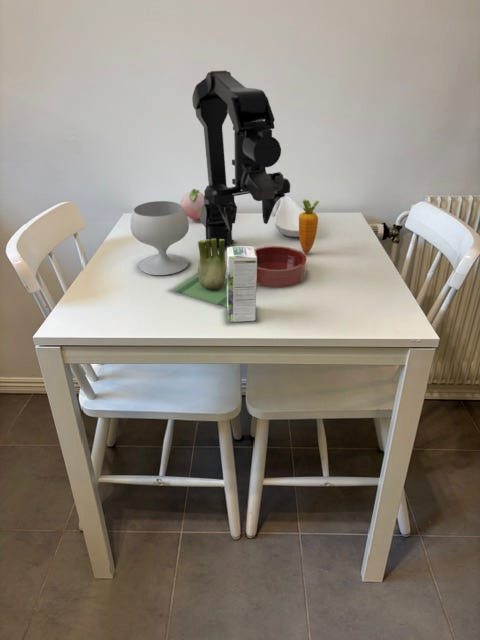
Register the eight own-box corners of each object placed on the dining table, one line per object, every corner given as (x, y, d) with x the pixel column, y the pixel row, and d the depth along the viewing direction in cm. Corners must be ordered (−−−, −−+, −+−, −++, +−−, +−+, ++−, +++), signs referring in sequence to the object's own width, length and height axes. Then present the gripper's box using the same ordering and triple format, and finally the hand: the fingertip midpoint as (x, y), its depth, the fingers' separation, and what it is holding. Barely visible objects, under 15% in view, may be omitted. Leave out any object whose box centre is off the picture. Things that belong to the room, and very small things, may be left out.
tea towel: (173, 290, 111) (173, 289, 111) (200, 272, 119) (200, 271, 119) (227, 307, 104) (227, 306, 104) (253, 287, 112) (253, 286, 112)
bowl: (234, 278, 116) (233, 262, 114) (263, 256, 127) (264, 241, 125) (288, 293, 110) (289, 276, 107) (314, 269, 120) (316, 253, 118)
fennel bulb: (227, 284, 113) (226, 236, 107) (221, 294, 109) (219, 244, 103) (204, 281, 114) (201, 233, 108) (197, 291, 110) (194, 242, 104)
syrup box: (226, 308, 104) (225, 246, 96) (253, 307, 104) (254, 245, 97) (228, 322, 99) (226, 257, 91) (256, 321, 99) (257, 256, 92)
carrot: (317, 251, 129) (321, 196, 122) (313, 259, 125) (317, 202, 118) (298, 249, 131) (302, 195, 123) (294, 256, 127) (297, 200, 119)
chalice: (151, 252, 130) (145, 197, 122) (199, 258, 126) (196, 202, 119) (125, 274, 119) (117, 215, 111) (177, 281, 115) (172, 221, 107)
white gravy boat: (319, 240, 136) (321, 215, 133) (279, 243, 135) (280, 218, 131) (296, 212, 156) (298, 190, 153) (261, 215, 155) (261, 193, 151)
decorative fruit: (181, 216, 155) (179, 185, 149) (207, 214, 155) (205, 183, 150) (181, 226, 147) (179, 193, 141) (208, 225, 147) (207, 192, 142)
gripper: (226, 170, 92) (227, 247, 100) (306, 158, 99) (302, 230, 107) (201, 158, 100) (205, 230, 108) (277, 148, 107) (275, 216, 116)
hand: (248, 226), depth 109 cm, fingers open, 9 cm apart
